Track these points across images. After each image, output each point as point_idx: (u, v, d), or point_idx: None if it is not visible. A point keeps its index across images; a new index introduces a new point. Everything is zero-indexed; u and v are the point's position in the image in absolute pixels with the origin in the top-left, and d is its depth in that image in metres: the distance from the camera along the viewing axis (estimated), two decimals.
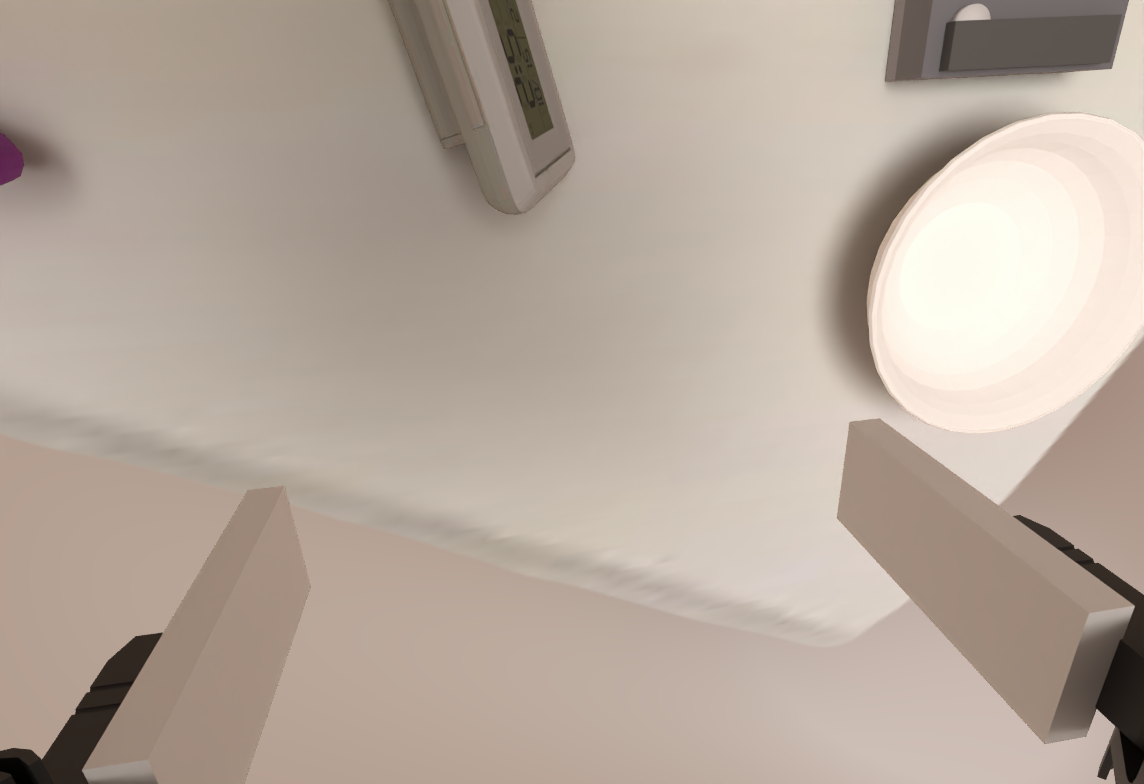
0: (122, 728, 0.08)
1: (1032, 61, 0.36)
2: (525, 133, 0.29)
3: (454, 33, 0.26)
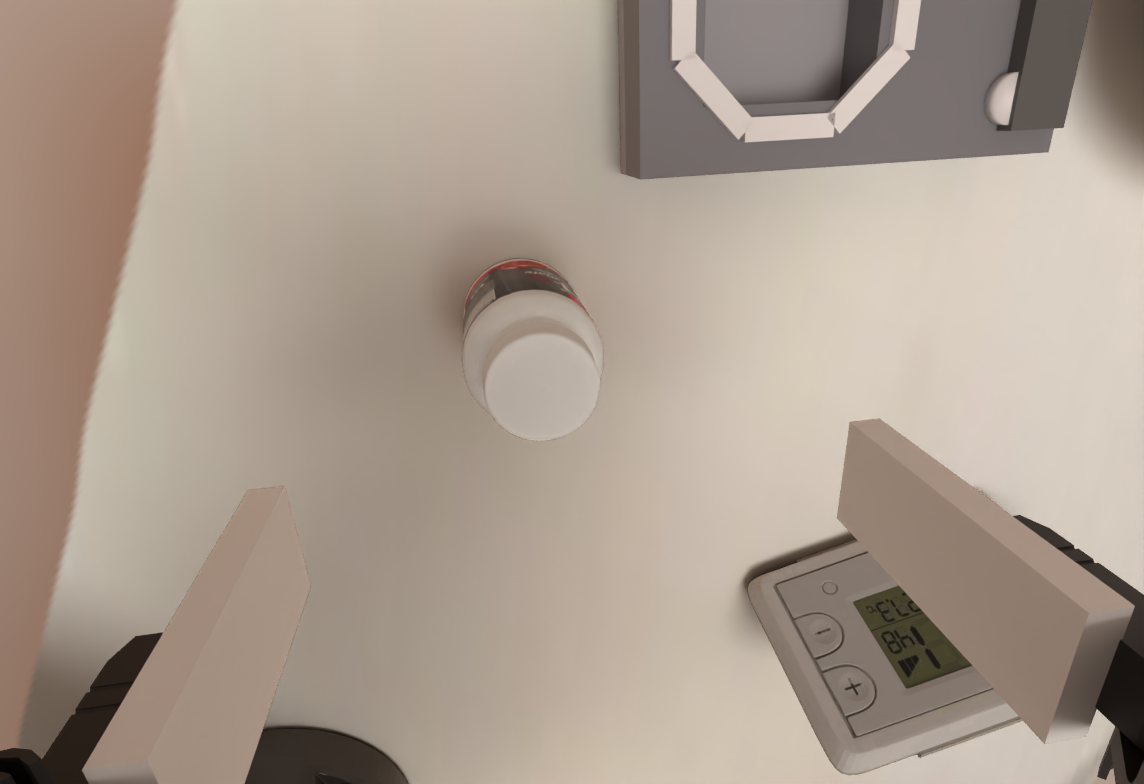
0: (122, 728, 0.08)
1: None
2: None
3: (998, 724, 0.31)
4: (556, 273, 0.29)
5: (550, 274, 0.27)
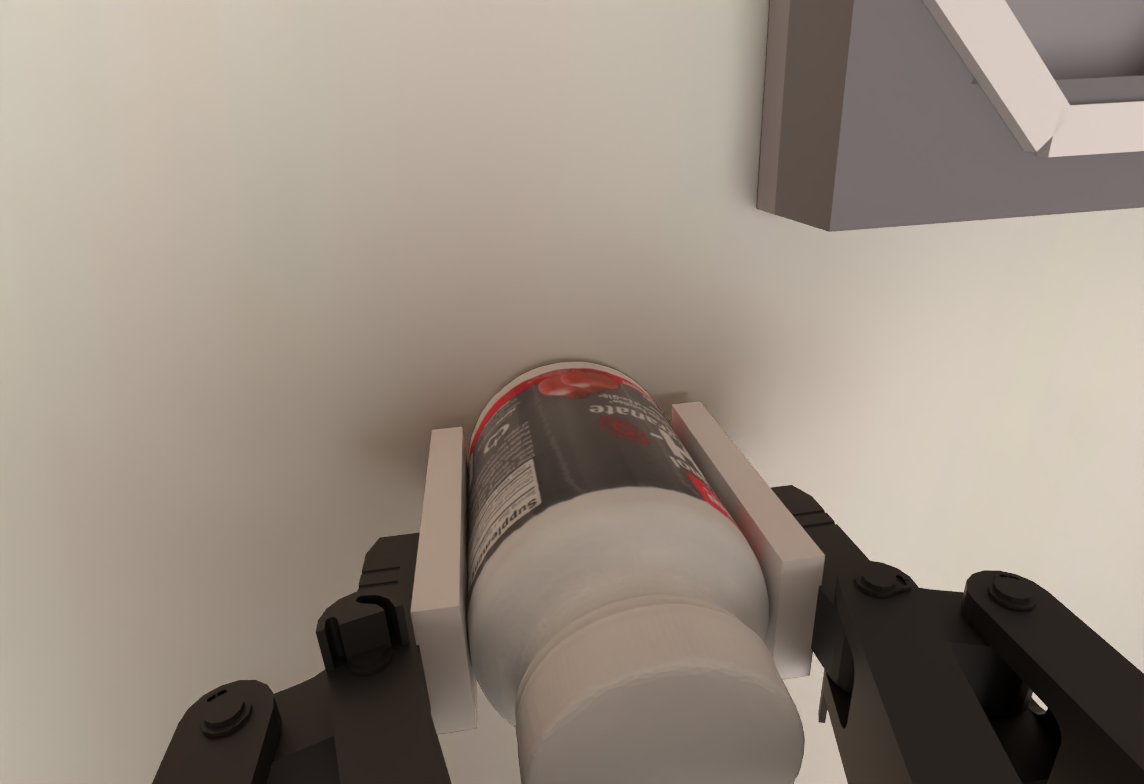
0: (426, 587, 0.11)
1: None
2: None
3: None
4: (640, 394, 0.16)
5: (635, 407, 0.14)
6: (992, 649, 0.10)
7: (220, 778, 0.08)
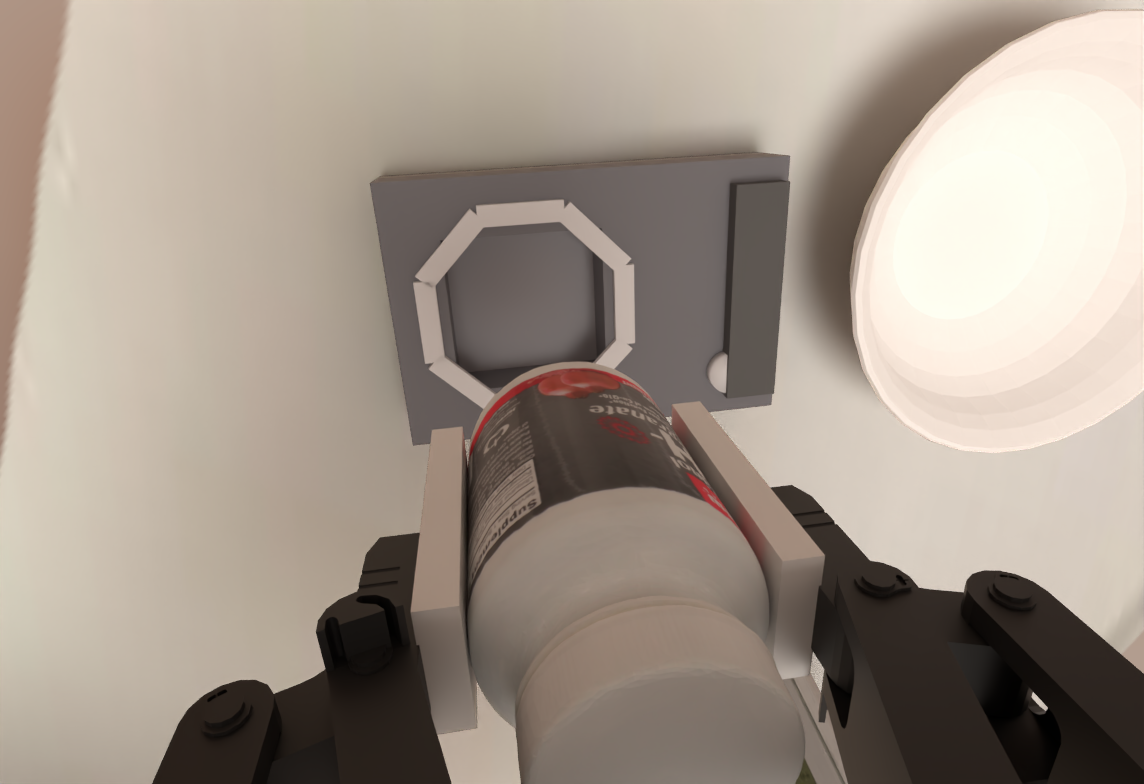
0: (426, 587, 0.11)
1: (776, 293, 0.30)
2: None
3: None
4: (640, 394, 0.15)
5: (636, 407, 0.14)
6: (992, 649, 0.10)
7: (220, 778, 0.08)
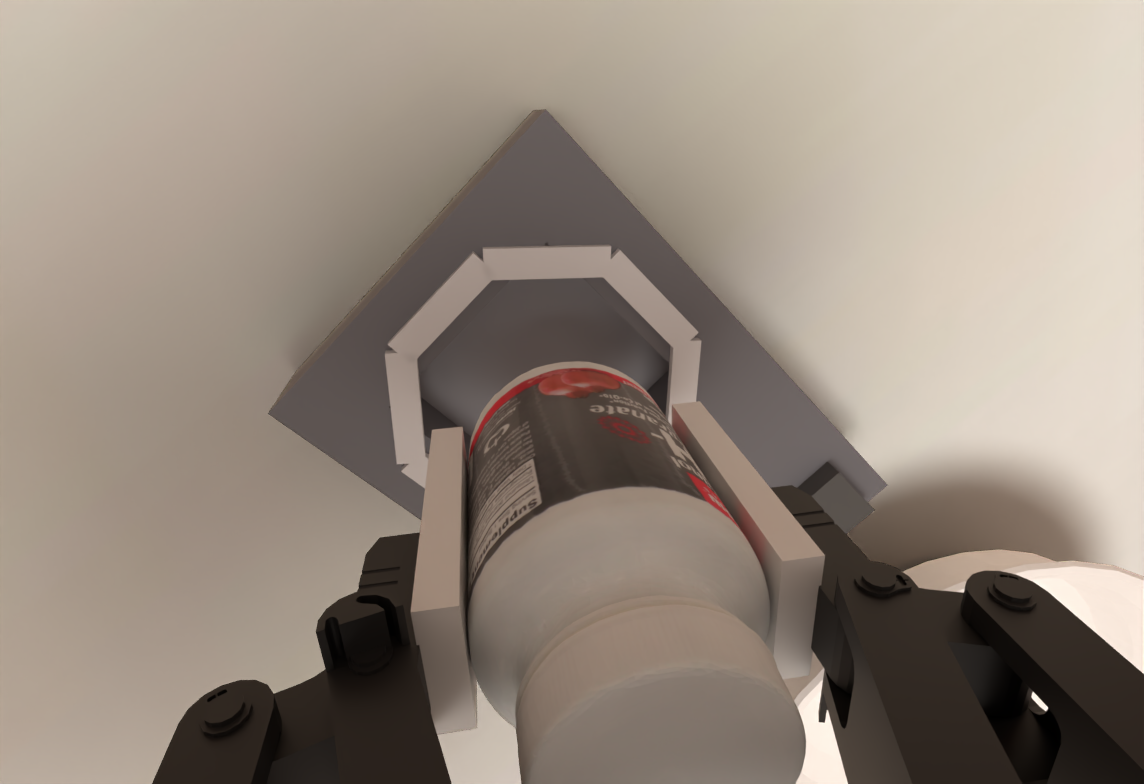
0: (426, 587, 0.11)
1: None
2: None
3: None
4: (641, 394, 0.15)
5: (636, 407, 0.14)
6: (992, 649, 0.10)
7: (220, 778, 0.08)
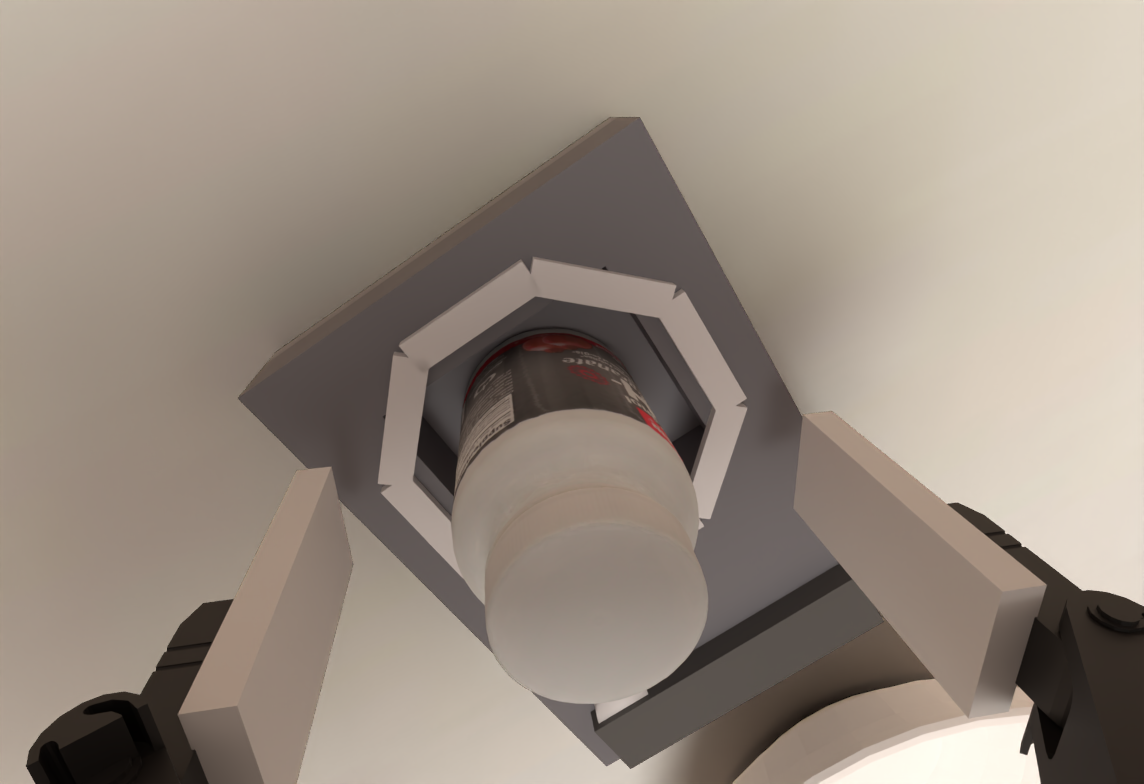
0: (209, 679, 0.09)
1: (752, 691, 0.22)
2: None
3: None
4: (610, 356, 0.18)
5: (603, 362, 0.17)
6: None
7: None
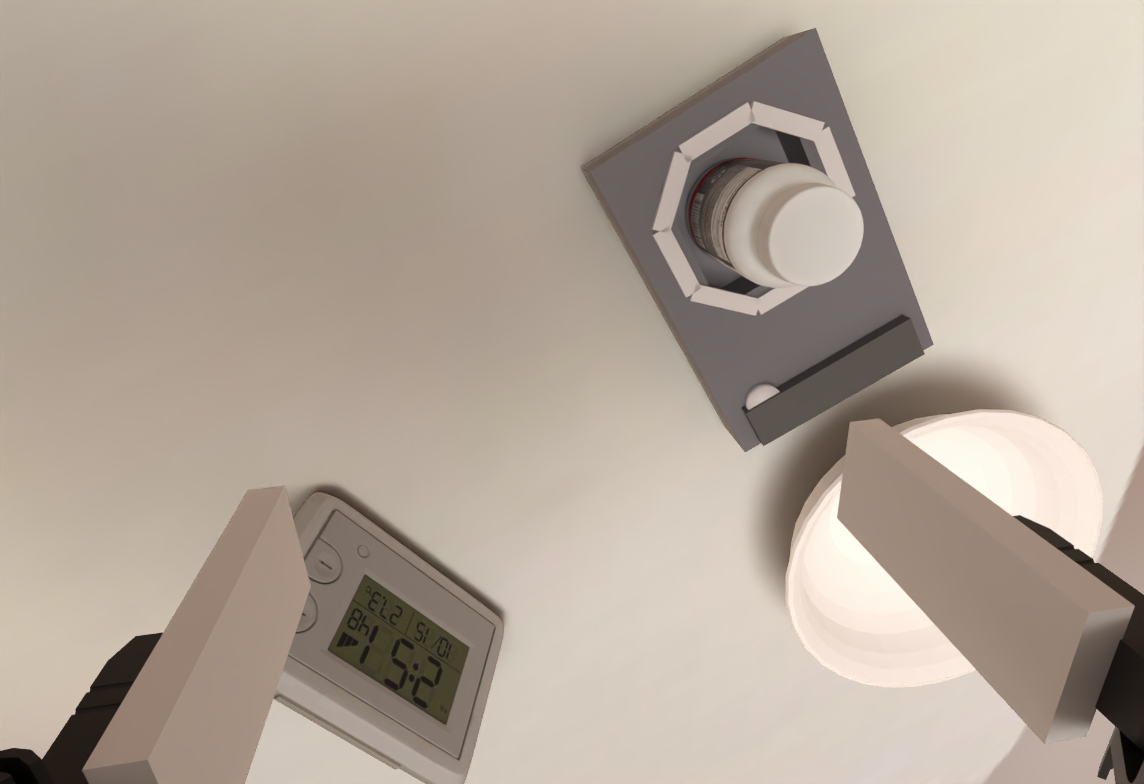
0: (122, 728, 0.08)
1: (842, 396, 0.36)
2: (436, 738, 0.35)
3: (346, 733, 0.33)
4: None
5: None
6: None
7: None
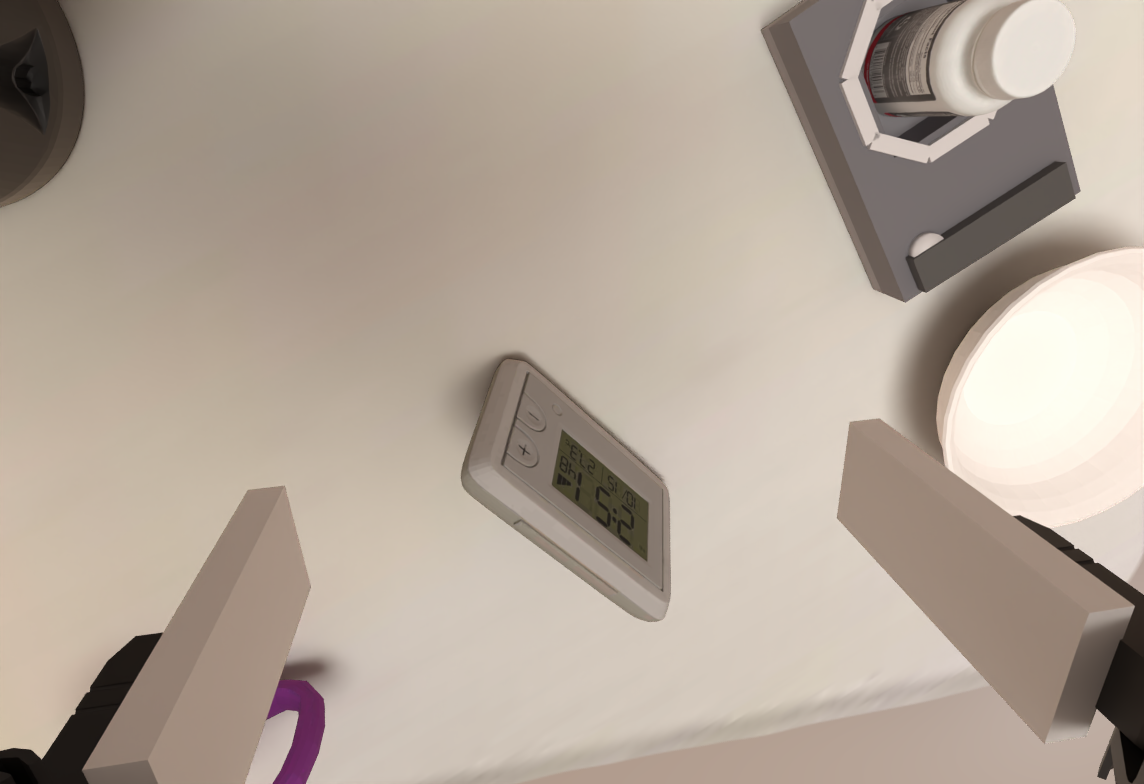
0: (122, 728, 0.08)
1: (999, 241, 0.39)
2: (643, 570, 0.38)
3: (573, 559, 0.36)
4: None
5: None
6: None
7: None
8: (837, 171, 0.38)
